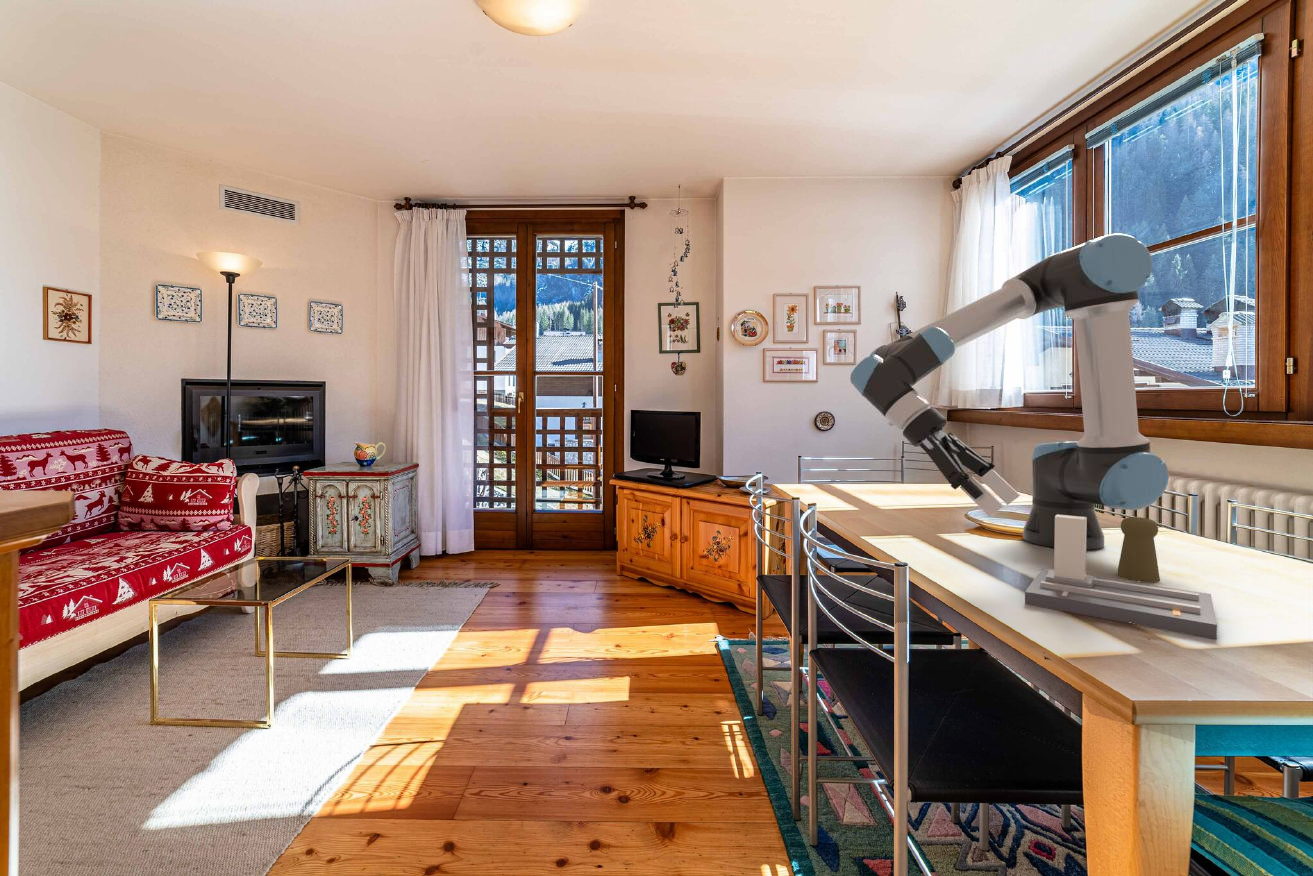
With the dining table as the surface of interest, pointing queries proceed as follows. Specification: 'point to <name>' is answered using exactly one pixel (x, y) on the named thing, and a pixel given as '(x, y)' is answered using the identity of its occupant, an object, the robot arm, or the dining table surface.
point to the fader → (1070, 553)
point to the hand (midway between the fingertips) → (1006, 505)
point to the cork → (1139, 550)
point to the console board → (1129, 604)
